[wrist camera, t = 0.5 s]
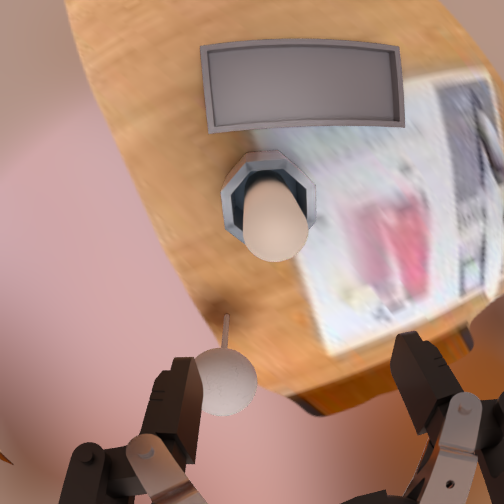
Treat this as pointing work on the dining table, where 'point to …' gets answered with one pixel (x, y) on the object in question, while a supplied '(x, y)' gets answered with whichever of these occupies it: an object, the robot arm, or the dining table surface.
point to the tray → (301, 84)
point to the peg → (272, 218)
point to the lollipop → (226, 378)
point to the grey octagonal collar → (255, 162)
